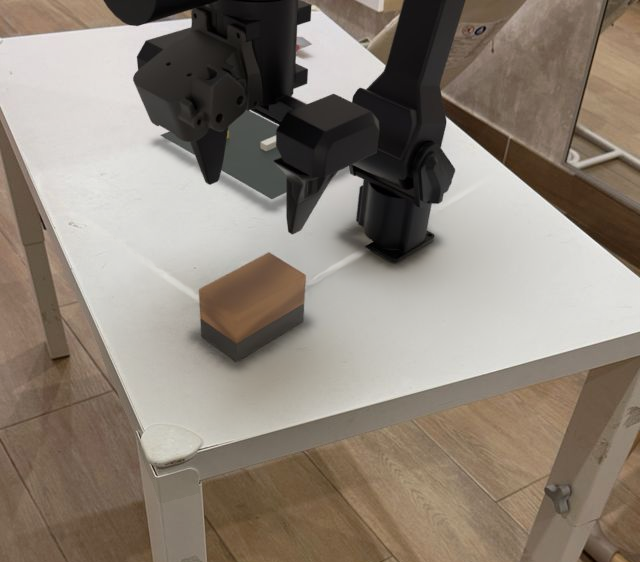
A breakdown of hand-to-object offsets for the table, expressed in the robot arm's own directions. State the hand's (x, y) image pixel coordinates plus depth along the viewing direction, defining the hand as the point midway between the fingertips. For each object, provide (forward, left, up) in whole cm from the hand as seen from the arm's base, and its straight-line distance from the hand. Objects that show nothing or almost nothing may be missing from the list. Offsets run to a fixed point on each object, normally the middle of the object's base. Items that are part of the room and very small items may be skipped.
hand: (252, 206), depth 62 cm
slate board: (+22, -21, -12) cm, 33 cm away
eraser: (0, 0, -12) cm, 12 cm away
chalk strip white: (+21, -23, -11) cm, 33 cm away
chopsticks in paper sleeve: (+41, -37, -12) cm, 56 cm away
